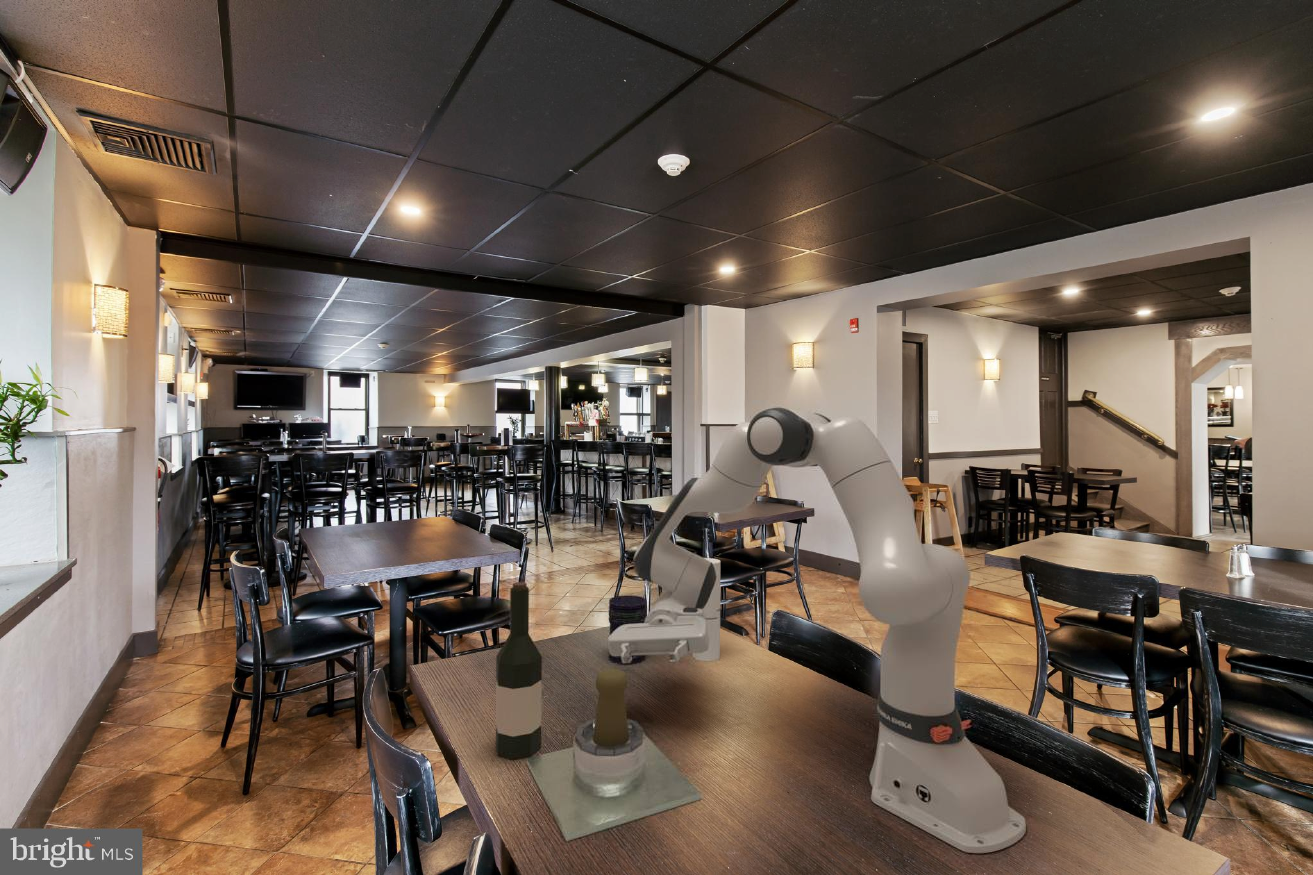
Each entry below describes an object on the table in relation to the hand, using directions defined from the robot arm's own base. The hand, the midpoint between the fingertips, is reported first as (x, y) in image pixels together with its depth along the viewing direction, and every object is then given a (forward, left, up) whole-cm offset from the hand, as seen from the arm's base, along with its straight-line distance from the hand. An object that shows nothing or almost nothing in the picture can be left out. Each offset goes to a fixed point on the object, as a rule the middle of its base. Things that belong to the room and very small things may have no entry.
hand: (649, 658), depth 109 cm
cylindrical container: (+33, -33, -16) cm, 49 cm away
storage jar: (+41, -14, -16) cm, 46 cm away
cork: (-8, +11, -9) cm, 16 cm away
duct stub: (-8, +11, -16) cm, 21 cm away
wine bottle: (+9, +22, -16) cm, 29 cm away
